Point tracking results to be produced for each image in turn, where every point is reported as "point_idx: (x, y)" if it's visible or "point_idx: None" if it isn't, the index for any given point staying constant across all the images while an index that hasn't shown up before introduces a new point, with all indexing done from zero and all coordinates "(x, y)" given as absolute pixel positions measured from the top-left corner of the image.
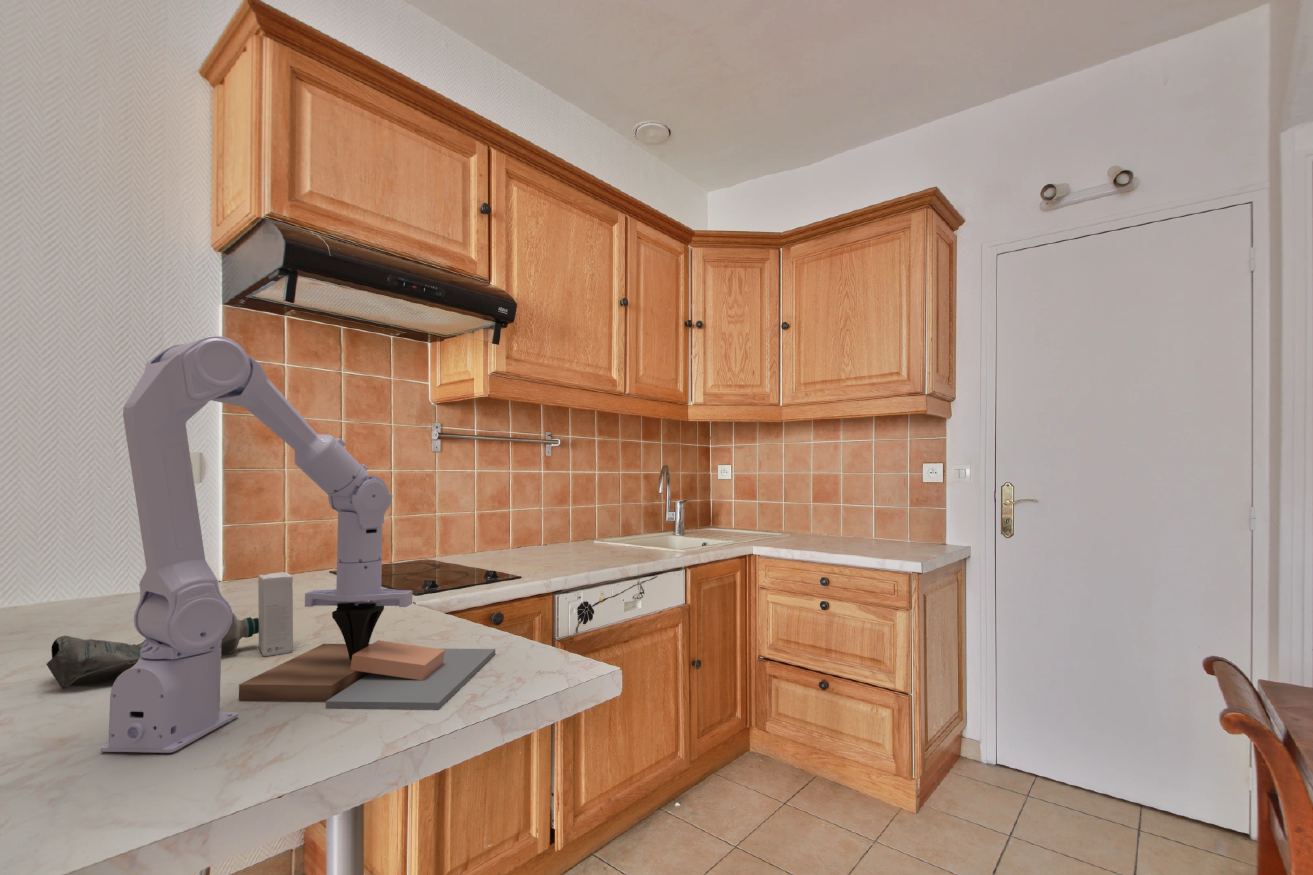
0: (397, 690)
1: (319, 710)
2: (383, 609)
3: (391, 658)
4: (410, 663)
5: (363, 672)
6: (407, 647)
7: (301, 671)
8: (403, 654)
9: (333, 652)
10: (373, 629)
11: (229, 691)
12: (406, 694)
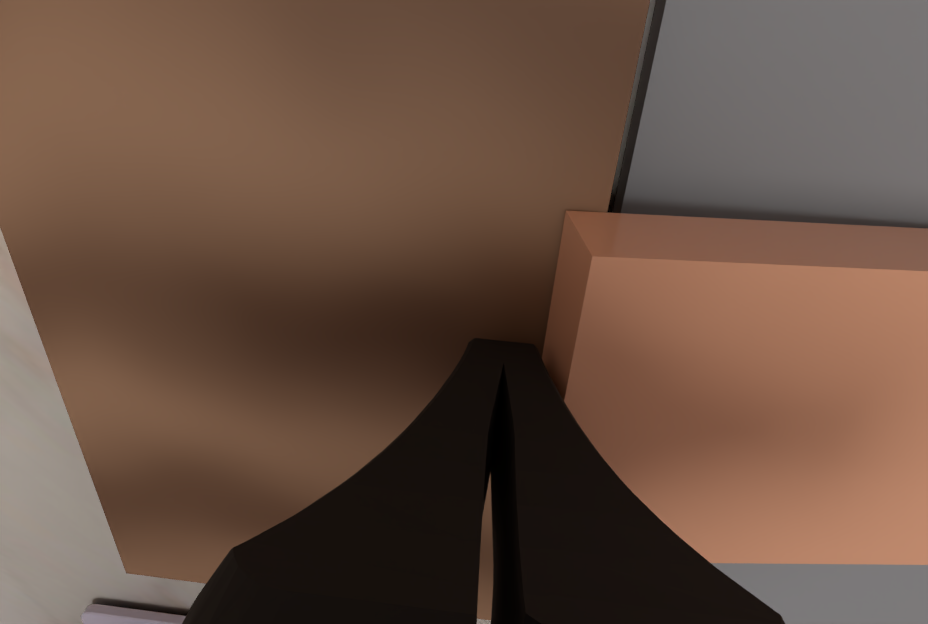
0: (793, 577)
1: None
2: (778, 622)
3: (776, 539)
4: (895, 562)
5: None
6: (873, 337)
7: (265, 469)
8: (848, 469)
9: (179, 118)
10: (601, 456)
11: (29, 433)
12: (840, 616)
